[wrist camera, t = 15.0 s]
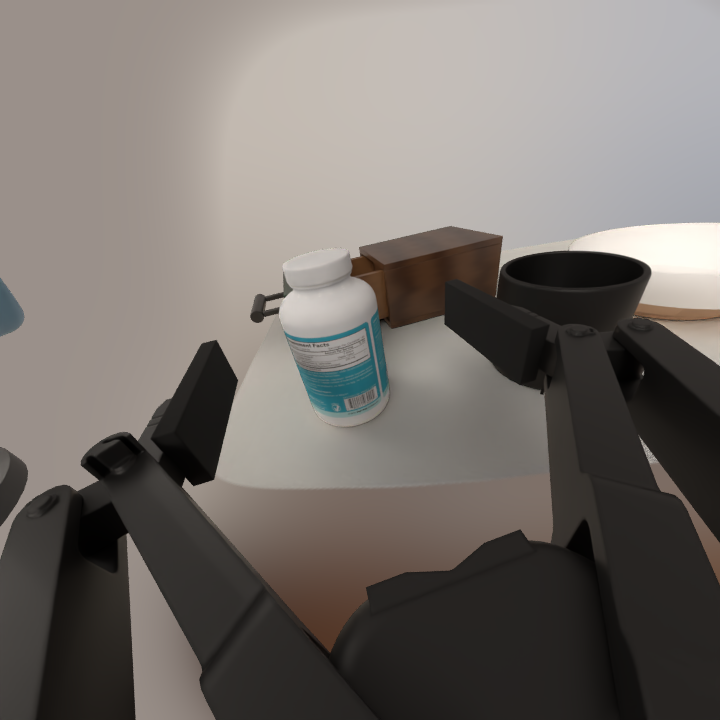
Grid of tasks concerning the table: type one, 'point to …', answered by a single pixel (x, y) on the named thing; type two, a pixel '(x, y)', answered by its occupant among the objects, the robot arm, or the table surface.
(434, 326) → the table surface
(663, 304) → the bowl
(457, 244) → the cabinet
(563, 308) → the mug
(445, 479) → the table surface
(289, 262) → the pill bottle
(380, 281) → the drawer
